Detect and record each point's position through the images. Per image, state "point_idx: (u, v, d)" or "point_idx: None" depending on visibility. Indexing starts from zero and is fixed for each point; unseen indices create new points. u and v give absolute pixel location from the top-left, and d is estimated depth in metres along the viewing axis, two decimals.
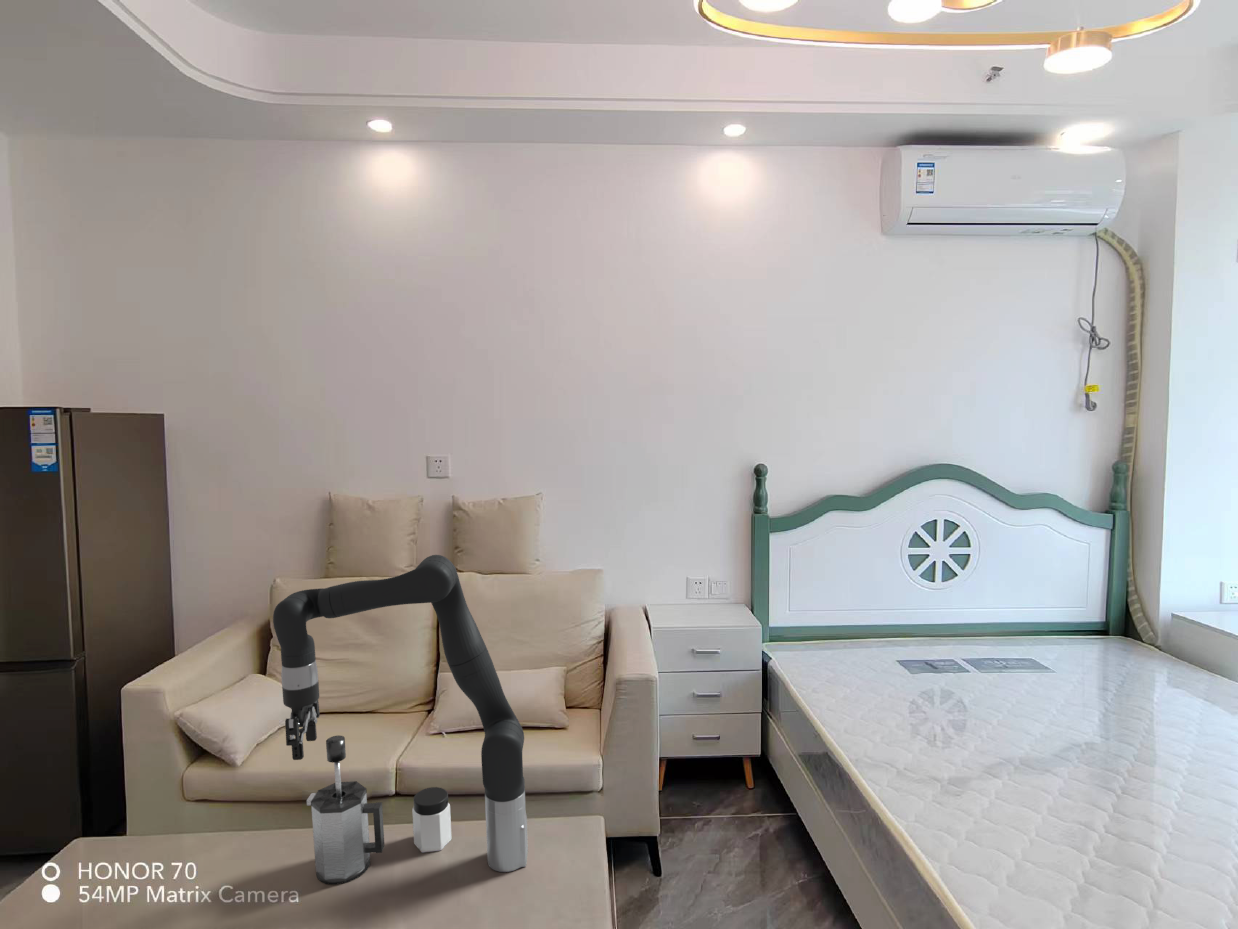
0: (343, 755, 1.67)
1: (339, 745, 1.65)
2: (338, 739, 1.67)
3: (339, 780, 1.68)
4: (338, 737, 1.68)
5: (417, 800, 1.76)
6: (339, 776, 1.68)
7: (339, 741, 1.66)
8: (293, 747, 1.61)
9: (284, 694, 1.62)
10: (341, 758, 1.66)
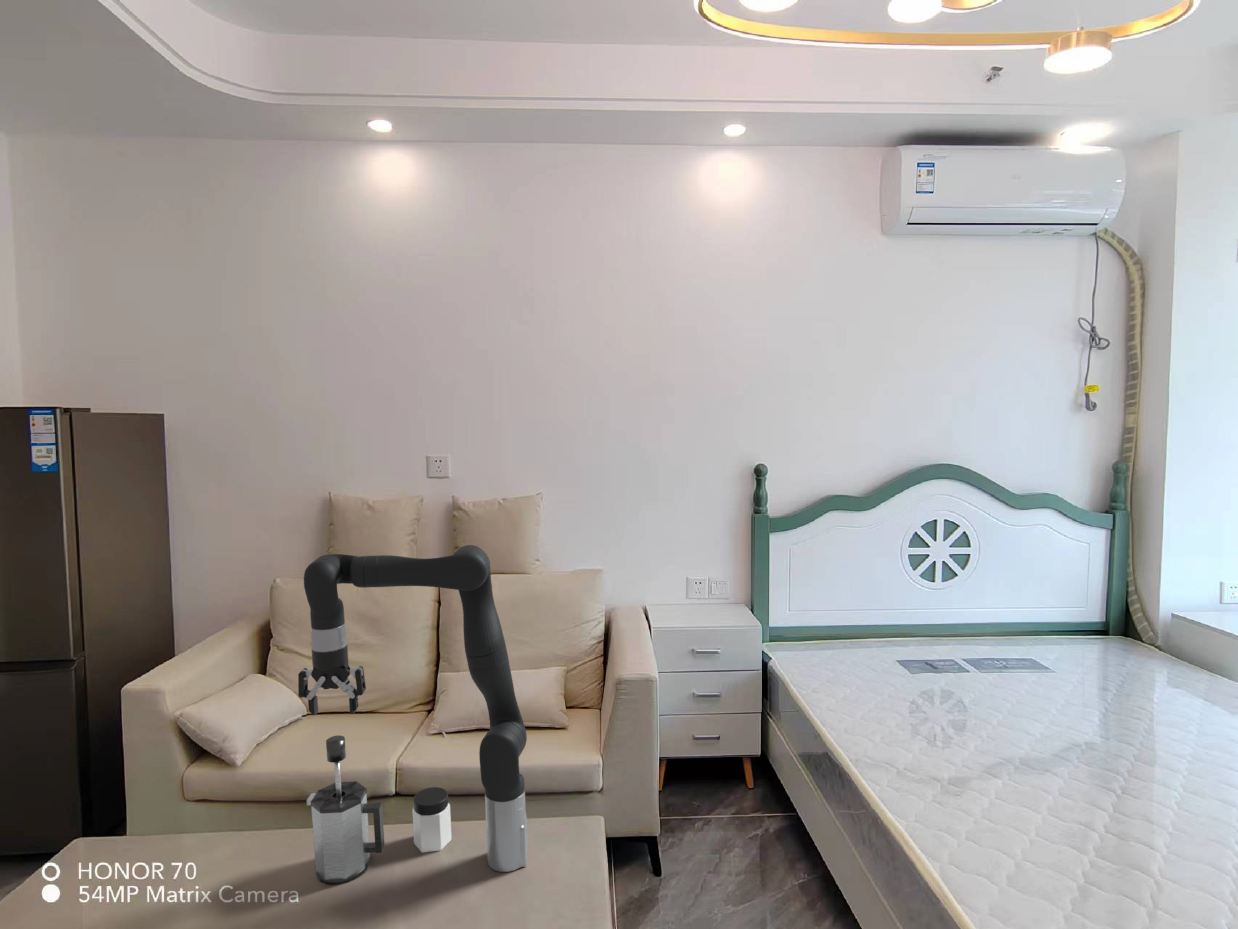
0: (343, 755, 1.67)
1: (339, 745, 1.65)
2: (338, 739, 1.67)
3: (339, 780, 1.68)
4: (338, 737, 1.68)
5: (417, 800, 1.76)
6: (339, 776, 1.68)
7: (339, 741, 1.66)
8: (356, 699, 1.66)
9: (338, 655, 1.62)
10: (341, 758, 1.66)
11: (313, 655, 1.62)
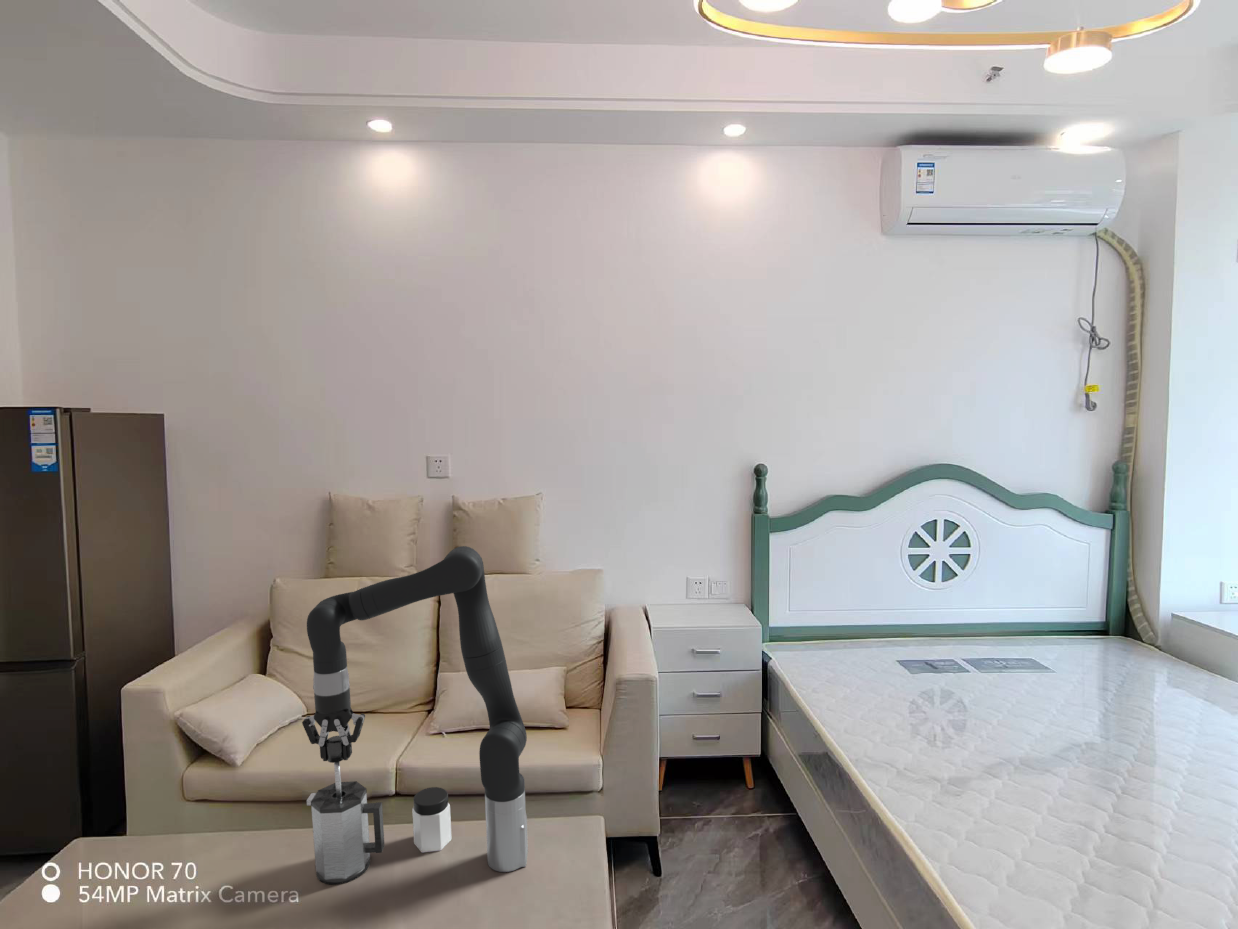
0: None
1: (339, 746, 1.65)
2: (338, 739, 1.67)
3: (339, 780, 1.68)
4: (338, 737, 1.68)
5: (417, 800, 1.76)
6: (339, 777, 1.68)
7: (339, 741, 1.66)
8: (349, 745, 1.67)
9: (340, 699, 1.63)
10: (341, 758, 1.66)
11: (316, 699, 1.63)
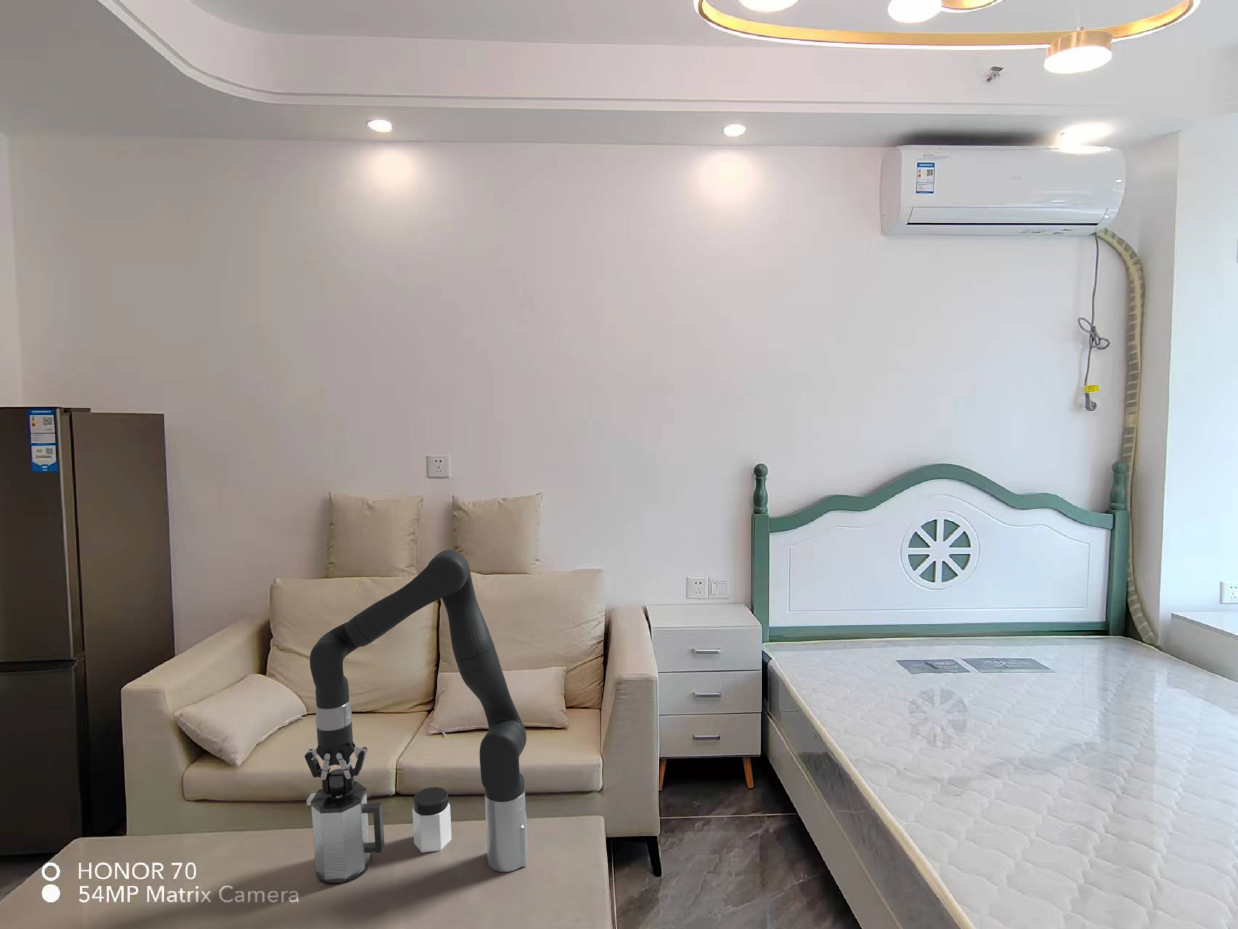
0: (345, 788, 1.68)
1: (341, 779, 1.66)
2: (340, 773, 1.68)
3: None
4: (340, 770, 1.69)
5: (417, 800, 1.76)
6: None
7: (342, 774, 1.67)
8: (351, 779, 1.68)
9: (342, 733, 1.64)
10: (343, 791, 1.67)
11: (318, 733, 1.64)
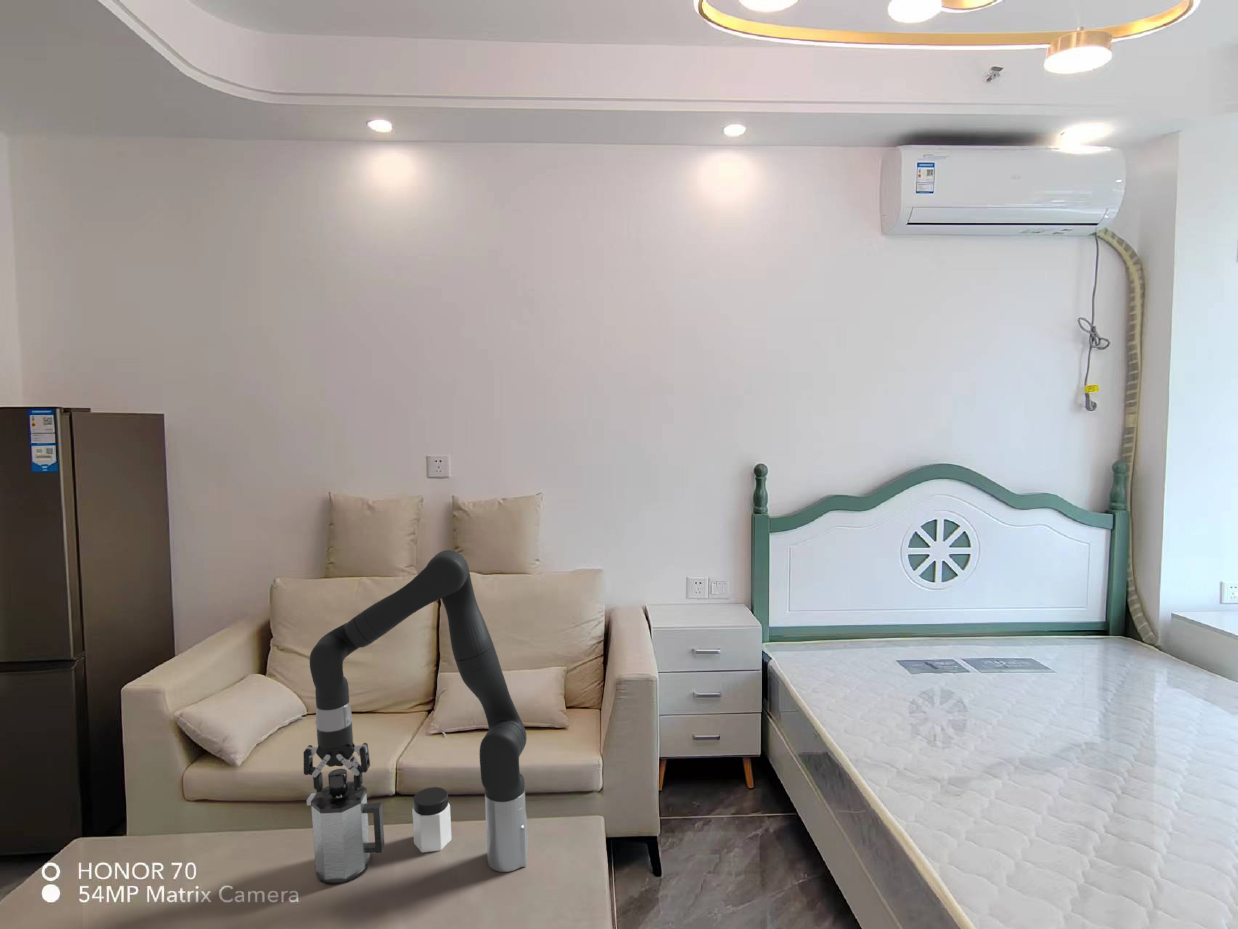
0: (345, 788, 1.68)
1: (341, 779, 1.66)
2: (340, 773, 1.68)
3: None
4: (340, 770, 1.69)
5: (417, 800, 1.76)
6: None
7: (342, 774, 1.67)
8: (360, 775, 1.68)
9: (342, 734, 1.64)
10: (343, 792, 1.67)
11: (318, 734, 1.64)
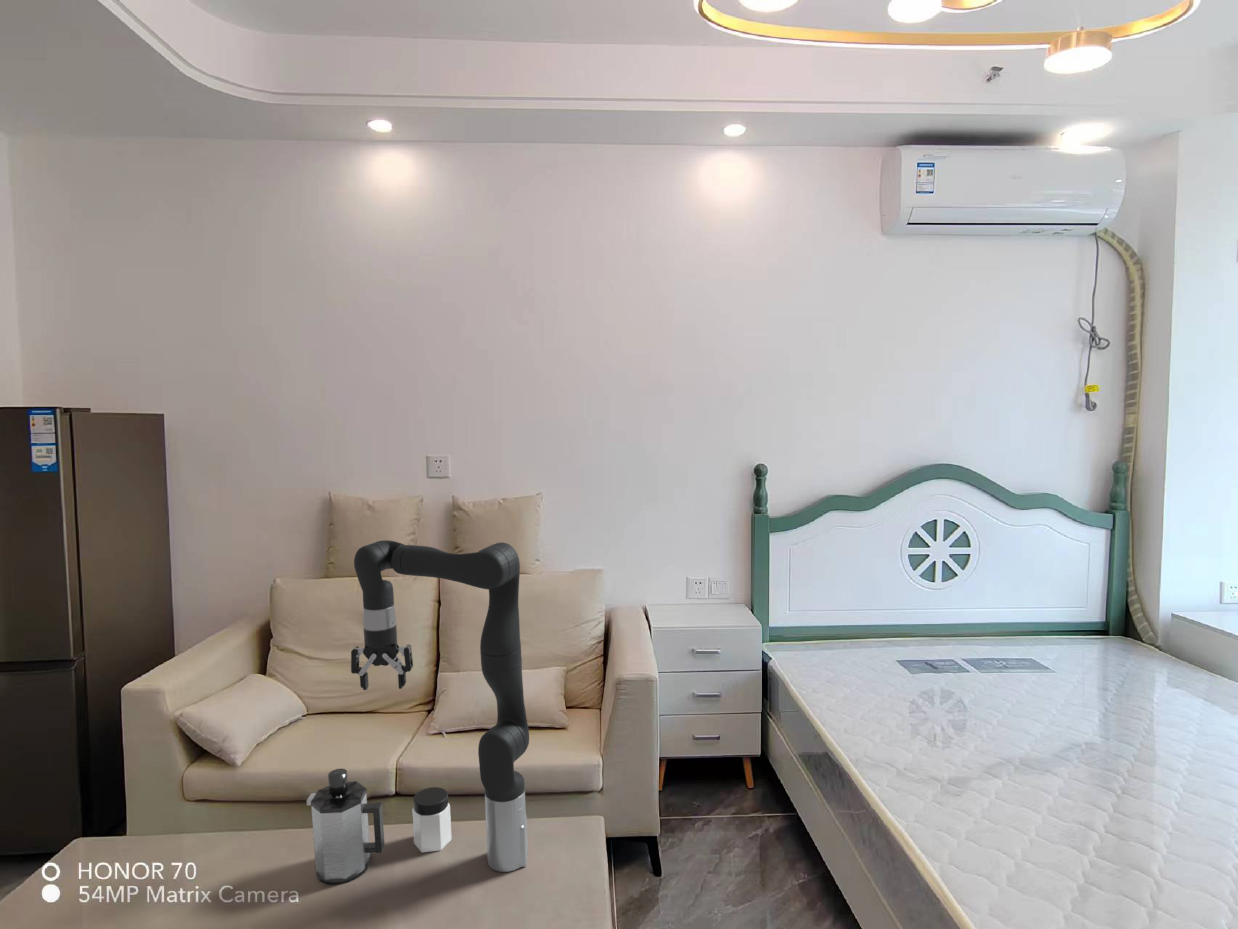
0: (345, 788, 1.68)
1: (341, 779, 1.66)
2: (340, 773, 1.68)
3: None
4: (340, 770, 1.69)
5: (417, 800, 1.76)
6: None
7: (342, 774, 1.67)
8: (404, 675, 1.78)
9: (388, 634, 1.74)
10: (343, 792, 1.67)
11: (365, 634, 1.74)
